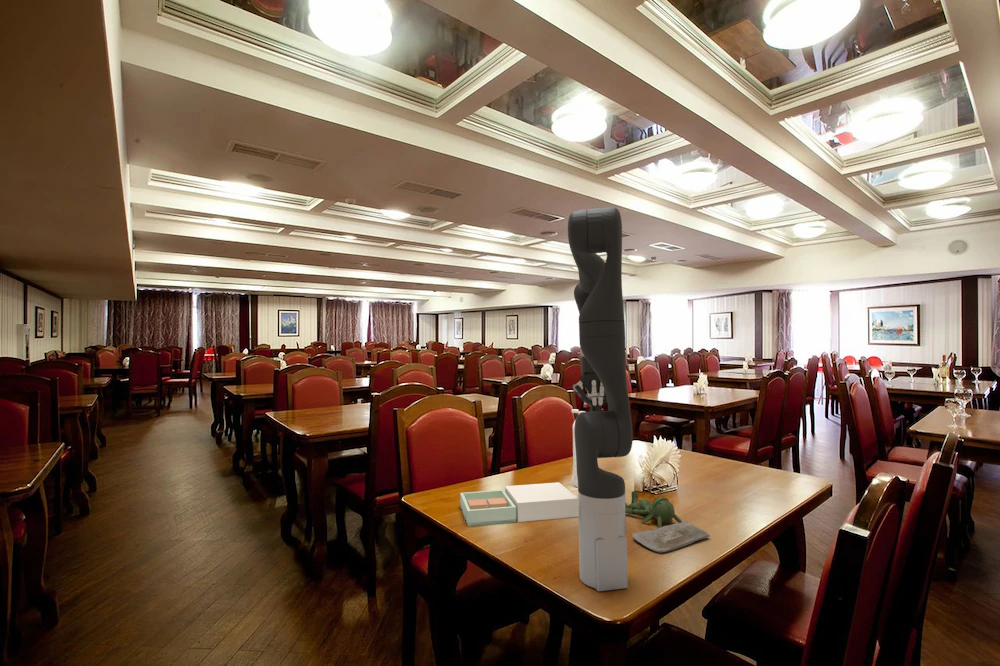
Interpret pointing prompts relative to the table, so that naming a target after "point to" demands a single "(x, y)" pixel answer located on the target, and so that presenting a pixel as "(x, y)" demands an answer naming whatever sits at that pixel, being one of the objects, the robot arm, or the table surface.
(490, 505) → the tile
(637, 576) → the table surface
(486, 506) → the tile
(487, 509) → the box
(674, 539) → the stone
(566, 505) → the raised plate
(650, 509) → the figurine
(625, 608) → the table surface
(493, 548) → the table surface
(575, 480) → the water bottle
